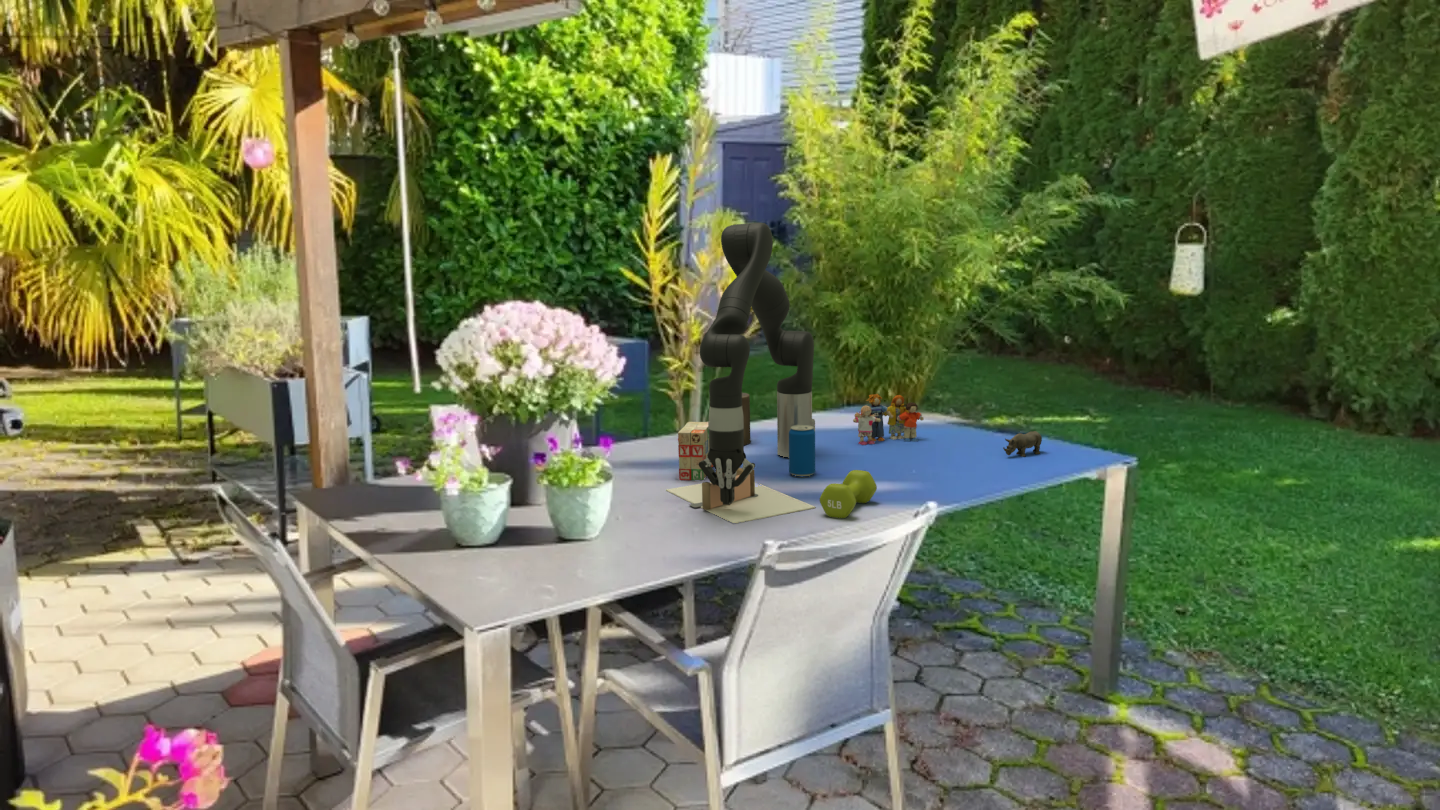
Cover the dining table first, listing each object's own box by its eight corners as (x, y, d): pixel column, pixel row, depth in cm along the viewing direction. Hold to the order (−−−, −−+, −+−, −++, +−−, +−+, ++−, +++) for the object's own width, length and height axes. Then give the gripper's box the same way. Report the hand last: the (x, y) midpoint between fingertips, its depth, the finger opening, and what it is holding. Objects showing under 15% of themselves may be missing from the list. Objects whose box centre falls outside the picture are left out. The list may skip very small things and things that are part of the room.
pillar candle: (757, 441, 292) (756, 389, 289) (739, 447, 284) (738, 394, 281) (728, 438, 297) (726, 386, 295) (709, 444, 289) (708, 392, 286)
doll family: (854, 446, 284) (854, 399, 281) (842, 438, 293) (842, 393, 290) (925, 440, 289) (926, 394, 286) (911, 433, 298) (912, 389, 295)
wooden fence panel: (720, 480, 249) (720, 456, 248) (756, 495, 235) (756, 470, 234) (714, 481, 248) (713, 457, 247) (749, 496, 235) (749, 471, 233)
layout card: (742, 477, 252) (742, 476, 252) (815, 508, 226) (815, 506, 226) (660, 491, 241) (660, 490, 241) (726, 525, 215) (726, 523, 215)
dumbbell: (851, 522, 216) (851, 488, 215) (816, 517, 220) (816, 484, 219) (879, 502, 230) (879, 471, 229) (846, 497, 234) (846, 467, 233)
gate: (750, 496, 234) (750, 471, 233) (706, 510, 224) (706, 484, 223) (745, 494, 236) (744, 470, 234) (700, 508, 225) (700, 483, 224)
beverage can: (818, 472, 256) (818, 425, 254) (809, 478, 250) (809, 430, 248) (794, 470, 259) (794, 423, 257) (785, 476, 253) (784, 428, 251)
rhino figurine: (996, 457, 269) (997, 434, 268) (1034, 450, 276) (1035, 428, 274) (1007, 460, 265) (1008, 437, 264) (1045, 453, 272) (1046, 431, 271)
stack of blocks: (695, 459, 272) (694, 414, 270) (719, 460, 271) (718, 414, 269) (678, 480, 252) (677, 431, 249) (704, 481, 250) (703, 432, 248)
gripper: (760, 424, 223) (761, 502, 226) (704, 421, 227) (705, 497, 231) (749, 431, 216) (750, 511, 219) (691, 428, 220) (692, 506, 224)
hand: (727, 503), depth 225 cm, fingers closed
